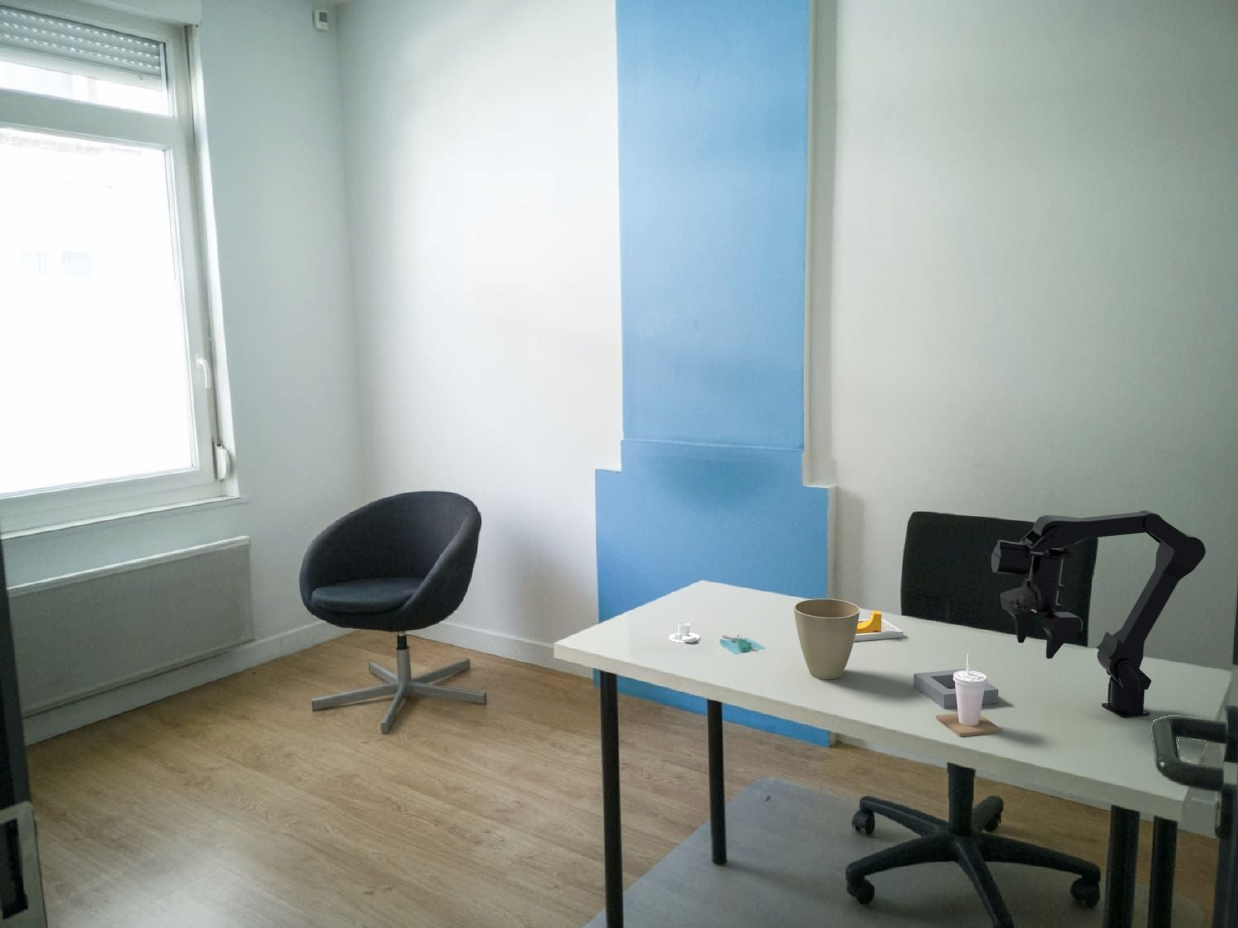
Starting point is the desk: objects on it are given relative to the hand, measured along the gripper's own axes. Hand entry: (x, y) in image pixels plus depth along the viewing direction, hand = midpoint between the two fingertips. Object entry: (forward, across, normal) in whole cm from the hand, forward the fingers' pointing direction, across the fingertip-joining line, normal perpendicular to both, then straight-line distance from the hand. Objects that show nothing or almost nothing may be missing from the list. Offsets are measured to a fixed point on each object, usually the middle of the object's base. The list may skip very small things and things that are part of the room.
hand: (1034, 650), depth 189 cm
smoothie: (+13, +5, -16) cm, 22 cm away
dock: (+14, -10, -10) cm, 20 cm away
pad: (+14, +5, -16) cm, 22 cm away
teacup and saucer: (+20, -60, -59) cm, 87 cm away
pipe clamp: (+16, -53, -12) cm, 57 cm away
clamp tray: (+15, -54, -11) cm, 57 cm away
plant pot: (+16, -28, -32) cm, 46 cm away
